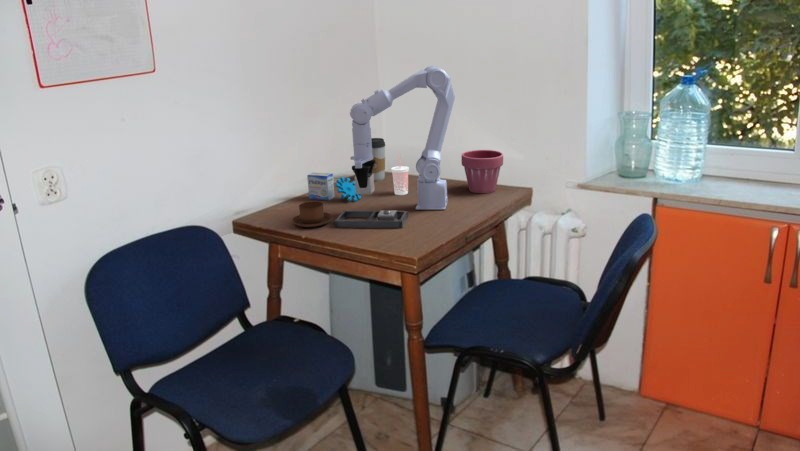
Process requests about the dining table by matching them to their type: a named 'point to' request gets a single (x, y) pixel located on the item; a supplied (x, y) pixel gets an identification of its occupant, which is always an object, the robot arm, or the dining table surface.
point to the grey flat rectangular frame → (370, 222)
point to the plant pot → (482, 169)
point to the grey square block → (370, 185)
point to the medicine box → (320, 186)
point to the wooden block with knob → (387, 215)
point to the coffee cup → (378, 158)
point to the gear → (347, 189)
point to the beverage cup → (400, 179)
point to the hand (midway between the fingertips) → (365, 185)
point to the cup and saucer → (312, 215)
